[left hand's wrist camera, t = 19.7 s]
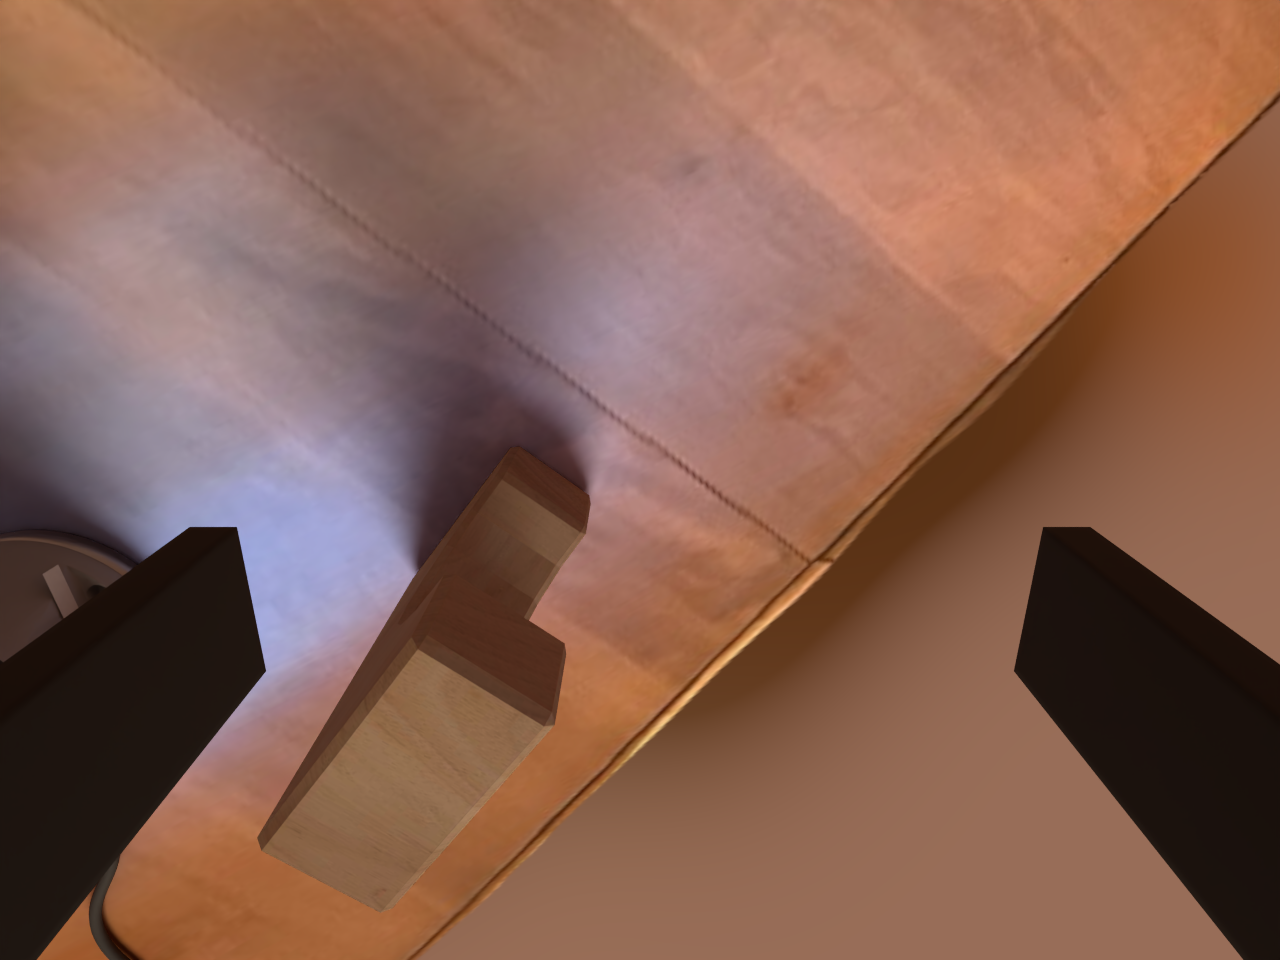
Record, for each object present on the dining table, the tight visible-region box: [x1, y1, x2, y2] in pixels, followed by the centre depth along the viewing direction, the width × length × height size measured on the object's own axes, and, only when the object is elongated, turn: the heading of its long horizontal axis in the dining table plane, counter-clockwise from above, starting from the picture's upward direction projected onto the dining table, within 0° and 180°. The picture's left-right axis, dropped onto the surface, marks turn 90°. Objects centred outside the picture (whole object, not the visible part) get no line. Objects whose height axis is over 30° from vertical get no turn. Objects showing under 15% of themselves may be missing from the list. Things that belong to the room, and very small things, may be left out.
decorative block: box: [257, 446, 591, 913], centre depth 35 cm, size 11×6×20 cm, turn 141°
